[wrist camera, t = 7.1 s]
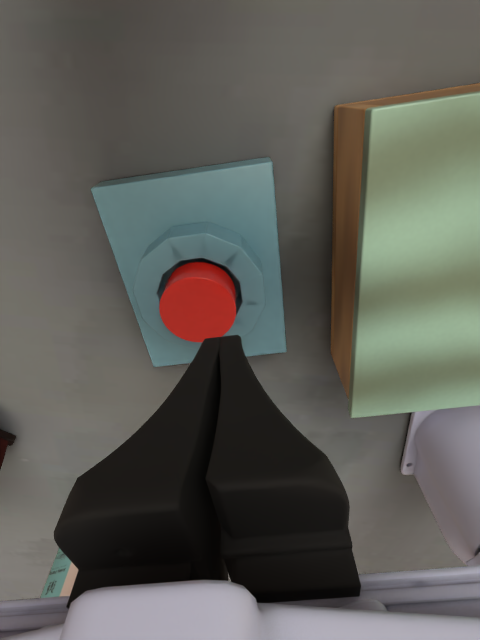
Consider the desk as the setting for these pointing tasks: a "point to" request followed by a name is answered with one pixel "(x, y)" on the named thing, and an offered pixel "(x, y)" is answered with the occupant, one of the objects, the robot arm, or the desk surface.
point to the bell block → (199, 247)
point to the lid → (418, 259)
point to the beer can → (60, 577)
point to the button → (198, 302)
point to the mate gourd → (5, 443)
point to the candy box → (354, 214)
